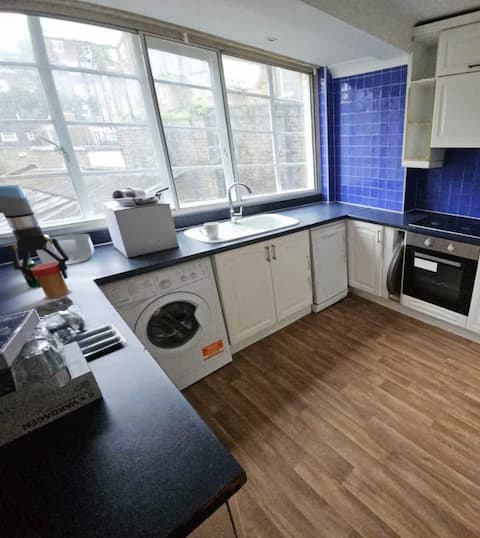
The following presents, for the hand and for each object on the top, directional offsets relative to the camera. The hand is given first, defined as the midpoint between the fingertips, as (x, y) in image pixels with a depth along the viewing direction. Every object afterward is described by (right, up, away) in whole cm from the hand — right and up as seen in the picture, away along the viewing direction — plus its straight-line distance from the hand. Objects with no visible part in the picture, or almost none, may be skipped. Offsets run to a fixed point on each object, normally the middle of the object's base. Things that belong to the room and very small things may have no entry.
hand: (51, 280), depth 121 cm
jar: (0, -6, +3) cm, 7 cm away
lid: (0, +5, -2) cm, 6 cm away
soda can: (-19, -3, +12) cm, 22 cm away
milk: (-23, +2, +24) cm, 33 cm away
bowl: (-33, +10, +44) cm, 55 cm away
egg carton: (+12, -12, -10) cm, 19 cm away
